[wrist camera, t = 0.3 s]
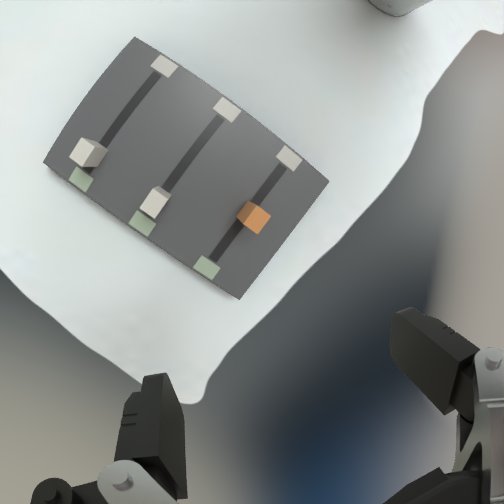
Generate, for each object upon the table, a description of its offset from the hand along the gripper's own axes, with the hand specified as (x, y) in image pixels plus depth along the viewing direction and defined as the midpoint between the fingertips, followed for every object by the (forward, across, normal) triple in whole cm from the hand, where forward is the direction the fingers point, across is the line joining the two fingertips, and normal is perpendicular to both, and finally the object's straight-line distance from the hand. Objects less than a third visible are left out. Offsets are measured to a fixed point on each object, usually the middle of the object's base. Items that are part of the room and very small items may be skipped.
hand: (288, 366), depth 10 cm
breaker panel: (+26, +3, -7) cm, 27 cm away
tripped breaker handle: (+23, -3, -1) cm, 23 cm away
